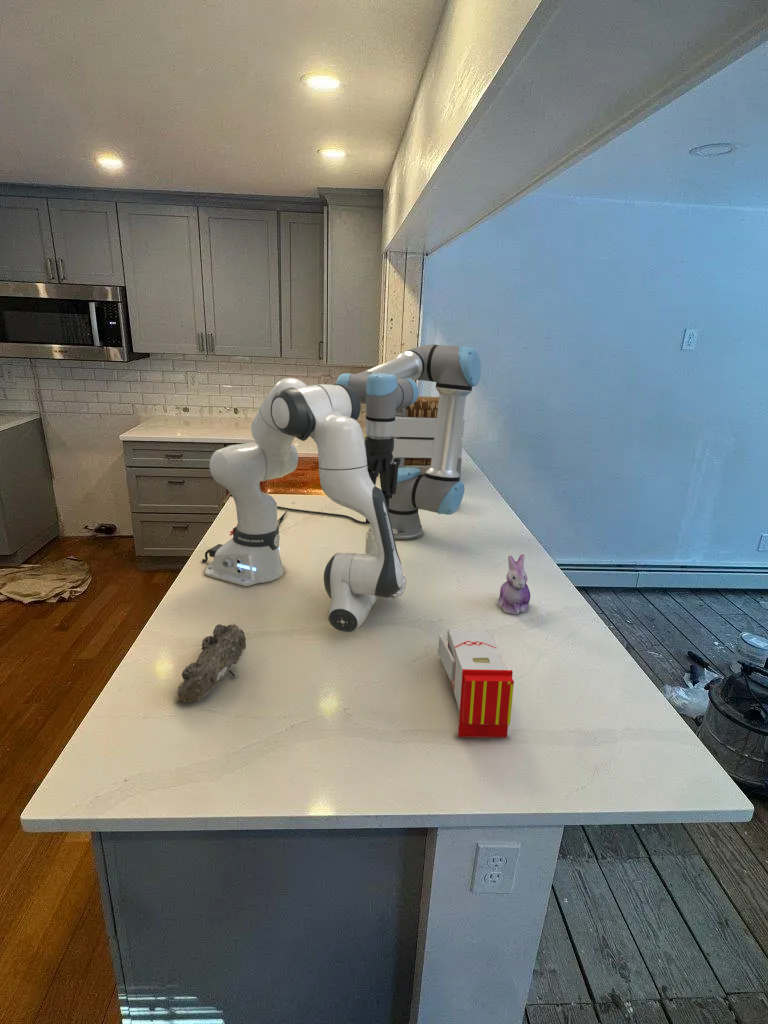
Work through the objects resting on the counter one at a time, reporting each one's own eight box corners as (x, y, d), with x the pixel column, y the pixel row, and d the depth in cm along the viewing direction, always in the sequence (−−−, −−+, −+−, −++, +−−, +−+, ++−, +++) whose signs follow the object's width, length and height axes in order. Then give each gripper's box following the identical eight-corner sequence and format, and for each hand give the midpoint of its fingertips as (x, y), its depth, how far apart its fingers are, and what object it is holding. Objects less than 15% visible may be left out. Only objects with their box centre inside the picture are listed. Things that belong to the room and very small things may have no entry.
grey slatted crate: (382, 463, 289) (386, 382, 275) (445, 464, 293) (451, 384, 279) (390, 482, 257) (394, 392, 243) (460, 483, 261) (468, 394, 247)
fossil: (199, 626, 130) (246, 596, 125) (228, 655, 132) (275, 626, 127) (155, 696, 110) (209, 664, 105) (190, 728, 113) (244, 697, 108)
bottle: (362, 593, 157) (365, 520, 150) (365, 585, 162) (367, 513, 155) (381, 595, 157) (385, 522, 149) (383, 586, 162) (387, 515, 154)
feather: (294, 505, 227) (296, 501, 226) (277, 528, 200) (280, 524, 199) (290, 503, 226) (292, 499, 226) (273, 526, 200) (276, 521, 199)
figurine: (512, 619, 147) (519, 566, 142) (488, 601, 156) (494, 551, 151) (540, 611, 151) (548, 560, 146) (515, 594, 160) (522, 546, 155)
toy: (488, 613, 130) (523, 677, 101) (484, 667, 133) (517, 744, 104) (435, 612, 130) (455, 676, 101) (432, 666, 133) (451, 743, 103)
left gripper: (401, 586, 142) (412, 563, 155) (324, 574, 146) (340, 553, 159) (400, 608, 144) (410, 584, 157) (324, 596, 149) (340, 573, 161)
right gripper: (394, 430, 152) (390, 512, 160) (344, 436, 142) (342, 523, 150) (413, 435, 147) (408, 520, 155) (362, 442, 137) (359, 532, 145)
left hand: (374, 568), depth 158 cm, fingers closed on bottle, 5 cm apart
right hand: (376, 521), depth 152 cm, fingers closed on cap, 4 cm apart
